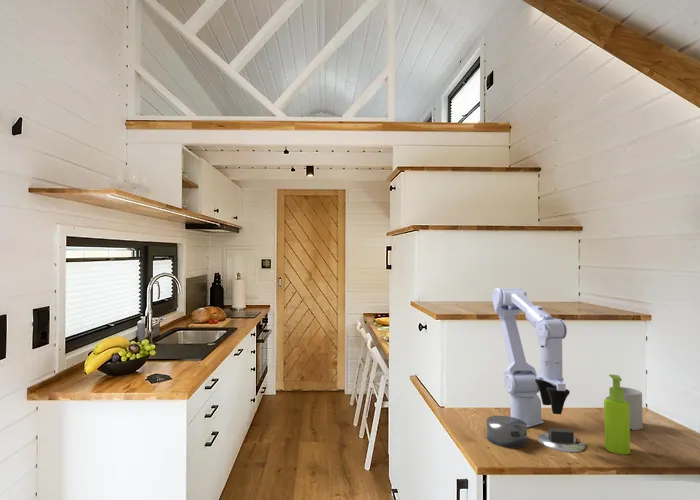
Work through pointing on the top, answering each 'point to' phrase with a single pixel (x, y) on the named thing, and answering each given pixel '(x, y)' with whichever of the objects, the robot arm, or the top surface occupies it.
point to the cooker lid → (561, 440)
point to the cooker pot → (507, 431)
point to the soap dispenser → (617, 419)
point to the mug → (634, 407)
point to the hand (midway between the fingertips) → (551, 409)
